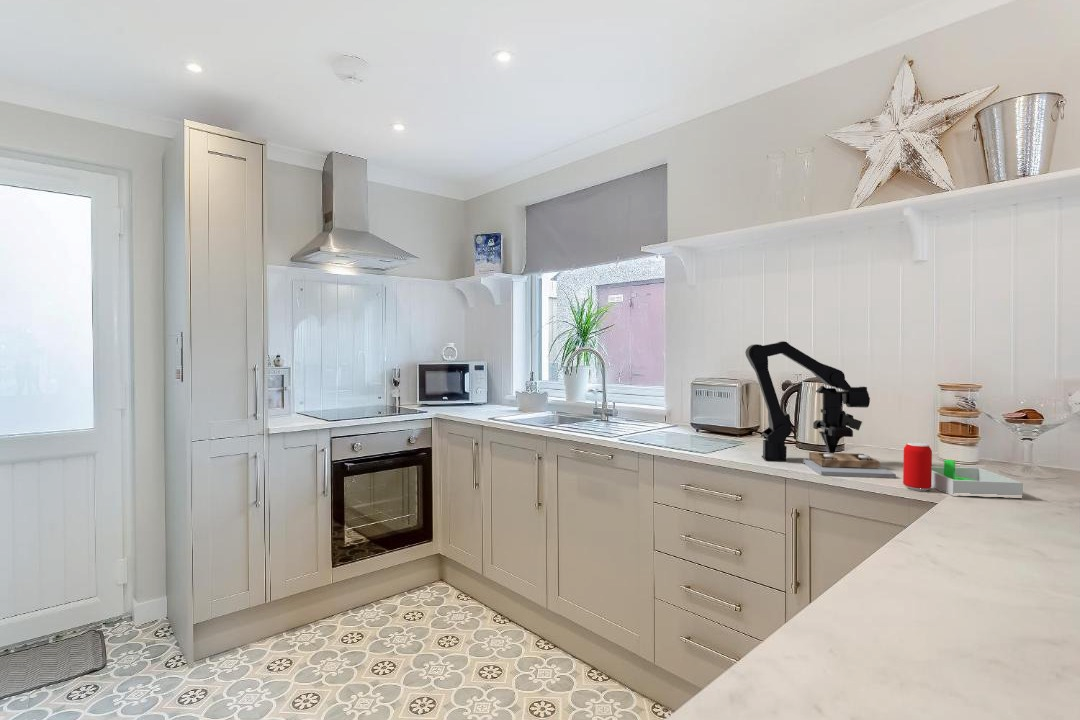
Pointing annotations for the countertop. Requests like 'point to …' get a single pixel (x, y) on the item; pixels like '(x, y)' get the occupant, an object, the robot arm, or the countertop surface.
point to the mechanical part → (951, 470)
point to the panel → (843, 460)
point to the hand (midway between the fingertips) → (831, 454)
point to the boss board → (849, 469)
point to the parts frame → (975, 482)
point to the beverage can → (917, 466)
